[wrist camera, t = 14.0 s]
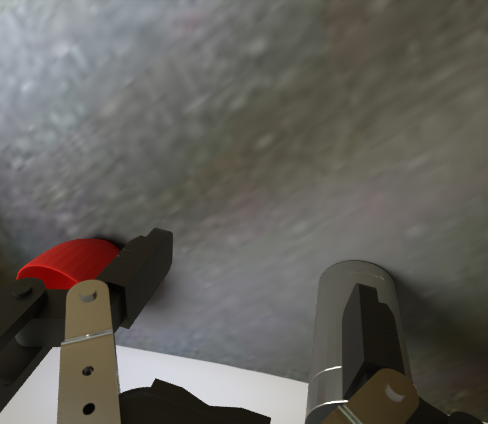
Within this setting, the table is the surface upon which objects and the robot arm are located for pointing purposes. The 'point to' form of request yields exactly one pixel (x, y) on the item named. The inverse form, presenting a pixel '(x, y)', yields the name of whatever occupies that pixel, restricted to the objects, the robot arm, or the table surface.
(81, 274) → the ceramic cup
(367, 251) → the table surface
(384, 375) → the robot arm
